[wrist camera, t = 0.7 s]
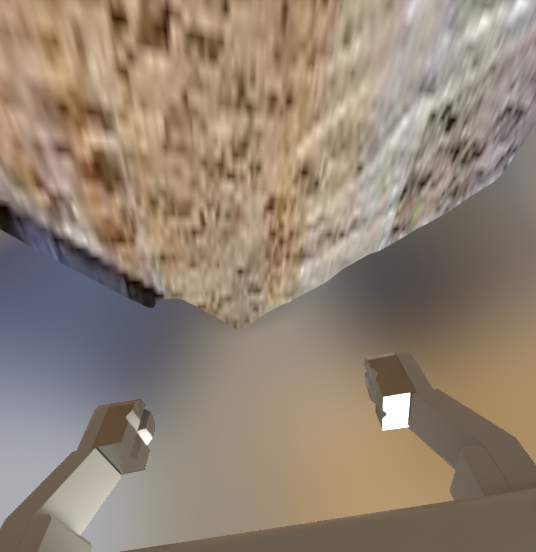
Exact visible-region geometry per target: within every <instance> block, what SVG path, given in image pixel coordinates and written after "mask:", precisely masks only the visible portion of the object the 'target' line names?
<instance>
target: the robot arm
mask: <svg viewBox="0 0 536 552" xmlns="http://www.w3.org/2000/svg"><path fill="white" fill-rule="evenodd" d="M364 361H365V367H366V370H367V372H366V373H365V381H366V386H367V390H368V393H369V396H370V398H371V401H373V402H374V403H375V404H376V414H377V417H378V419H379V422H380V424H381V427H382V429H383V430H388V429H395V428H402V427H408V428H409V429H410V430H411V431H412V432H414V433H415V434H416V435H417V436H418V437H419V438H420V439H421V440H423V441H424V442H425V443H426V444H427V445H428V446H429V447H430V448H432V449H433V450H434V451H435V452H436V453H437V454H438V455H439V456H440V457H442V458H443V459H444V460H445V461H446V462H447V463H449V465H451V466H452V467H453V468H454V469H455V470H456V471H455V475H454V478H453V481H452V485H451V488H450V493H451V495H452V497H453V499H454V501H448V502H442V503H435V504H429V505H422V506H416V507H409V508H403V509H396V510H389V511H383V512H376V513H370V514H363V515H357V516H350V517H344V518H337V519H332V520H324V521H318V522H311V523H305V524H298V525H292V526H285V527H278V528H272V529H265V530H259V531H253V532H246V533H239V534H233V535H226V536H220V537H213V538H207V539H201V540H194V541H187V542H181V543H175V544H168V545H162V546H155V547H148V548H141V549H135V550H128V551H122V552H536V465H535V463H534V462H533V460H532V459H531V458H530V456H529V455H528V454H527V452H526V451H525V450H524V449H523V447H522V446H521V444H520V443H519V442H518V440H517V439H516V437H514V436H512V435H511V434H509V433H507V432H506V431H504V430H503V429H501V428H499V427H498V426H496V425H495V424H493V423H492V422H490V421H488V420H487V419H485V418H484V417H482V416H480V415H479V414H477V413H476V412H474V411H473V410H471V409H469V408H468V407H466V406H464V405H463V404H461V403H460V402H458V401H457V400H455V399H453V398H452V397H450V396H449V395H447V394H445V393H444V392H442V391H440V390H439V389H433V388H432V386H431V385H430V383H429V381H428V380H427V378H426V376H425V375H424V373H423V371H422V370H421V368H420V367H419V365H418V363H417V361H416V360H415V358H414V356H413V355H412V353H411V352H410V351H409V350H406V351H401V352H396V353H388V354H383V355H378V356H373V357H368V358H365V360H364ZM144 407H145V403H144V402H143V401H142V400H141V399H138V400H131V401H125V402H118V403H111V404H106V405H100V406H98V407H97V408H96V409H95V411H94V413H93V415H92V418H91V420H90V422H89V424H88V426H87V429H86V431H85V433H84V435H83V438H82V440H81V442H80V444H79V447H78V449H77V451H75V452H72V453H71V454H70V455H69V456H68V457H67V458H66V459H65V460H64V461H63V462H62V463H61V464H60V465H59V466H58V467H57V468H56V469H55V470H54V471H53V472H52V473H51V474H50V475H49V476H48V477H47V478H46V479H45V480H44V481H43V482H42V483H41V484H40V485H39V486H38V487H37V488H36V489H35V490H34V491H33V492H32V493H31V494H30V495H29V496H28V497H27V498H26V499H25V500H24V501H23V502H22V503H21V504H20V505H19V506H18V508H16V509H15V510H14V511H13V512H12V513H11V514H10V516H8V518H6V519H5V521H4V523H3V525H2V527H1V529H0V552H90V551H91V548H92V546H91V543H90V542H89V541H87V540H86V539H85V538H83V537H82V536H80V535H81V534H82V532H83V530H84V529H85V528H86V526H87V525H88V523H89V522H90V520H91V519H92V518H93V516H94V515H95V513H96V512H97V511H98V509H99V508H100V506H101V505H102V503H103V502H104V500H105V499H106V498H107V496H108V495H109V493H110V492H111V490H112V489H113V488H114V486H115V485H116V483H117V482H118V481H119V479H120V478H121V475H122V474H127V473H132V472H137V471H142V470H145V467H146V463H147V459H148V455H149V451H150V450H149V448H148V446H147V444H148V443H149V442H150V441H151V439H152V438H153V435H154V431H155V421H154V418H153V415H152V413H151V412H150V411H148V410H146V409H144Z"/></svg>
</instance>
